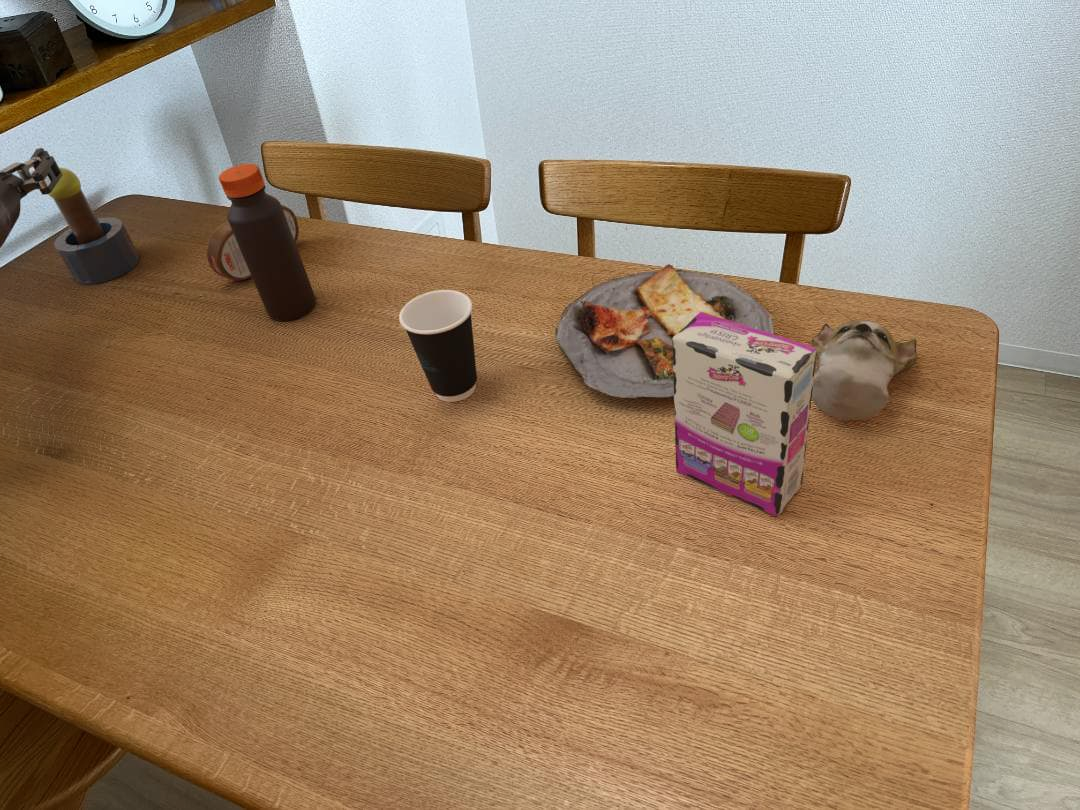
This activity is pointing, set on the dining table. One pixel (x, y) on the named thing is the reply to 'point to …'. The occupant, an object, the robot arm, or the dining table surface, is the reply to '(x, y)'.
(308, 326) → the dining table surface
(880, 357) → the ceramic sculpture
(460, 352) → the dixie cup
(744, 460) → the candy bar box
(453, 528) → the dining table surface
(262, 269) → the bottle
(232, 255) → the tin
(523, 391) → the dining table surface
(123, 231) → the tube
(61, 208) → the ball peg
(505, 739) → the dining table surface
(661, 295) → the food plate
